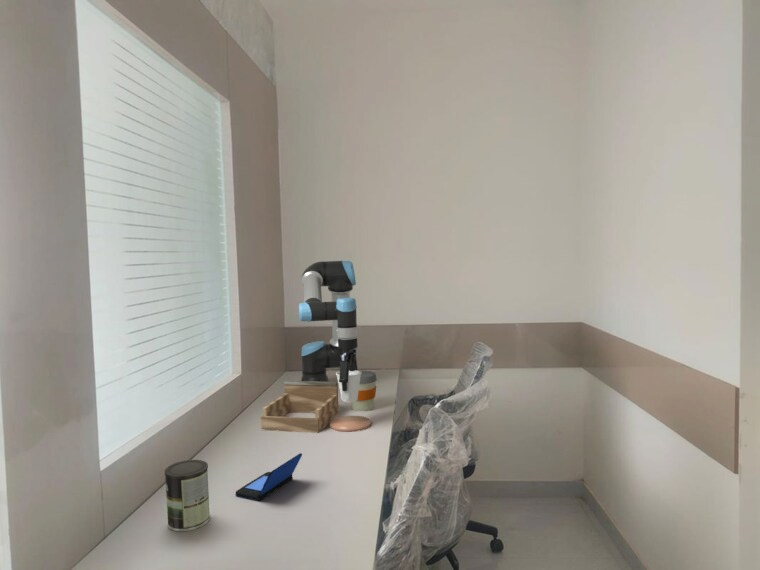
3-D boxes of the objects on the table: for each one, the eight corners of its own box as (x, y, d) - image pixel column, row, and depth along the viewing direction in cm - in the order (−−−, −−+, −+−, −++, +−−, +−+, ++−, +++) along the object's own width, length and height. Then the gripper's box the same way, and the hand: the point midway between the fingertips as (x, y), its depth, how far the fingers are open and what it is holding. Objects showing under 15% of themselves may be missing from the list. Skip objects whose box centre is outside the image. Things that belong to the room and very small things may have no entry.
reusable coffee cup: (372, 403, 241) (371, 369, 240) (381, 410, 229) (380, 375, 228) (344, 406, 237) (343, 372, 236) (352, 414, 225) (351, 378, 224)
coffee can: (162, 533, 132) (158, 476, 131) (174, 513, 142) (171, 460, 142) (205, 530, 133) (202, 474, 132) (214, 510, 143) (211, 458, 142)
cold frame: (287, 410, 233) (286, 380, 232) (338, 412, 228) (337, 382, 227) (261, 429, 208) (259, 396, 208) (318, 432, 203) (316, 398, 202)
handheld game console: (268, 475, 166) (266, 445, 165) (304, 482, 160) (303, 451, 159) (233, 497, 152) (231, 464, 151) (272, 505, 146) (270, 471, 145)
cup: (364, 397, 215) (363, 369, 214) (360, 404, 205) (359, 375, 204) (339, 397, 216) (338, 370, 215) (334, 404, 206) (333, 375, 205)
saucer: (337, 417, 221) (337, 414, 221) (375, 419, 217) (375, 416, 217) (324, 430, 205) (324, 427, 205) (365, 432, 201) (365, 429, 201)
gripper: (346, 333, 221) (348, 388, 222) (329, 342, 199) (331, 402, 200) (364, 333, 219) (366, 388, 220) (348, 342, 197) (350, 403, 199)
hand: (349, 395), depth 210 cm, fingers closed on cup, 9 cm apart
